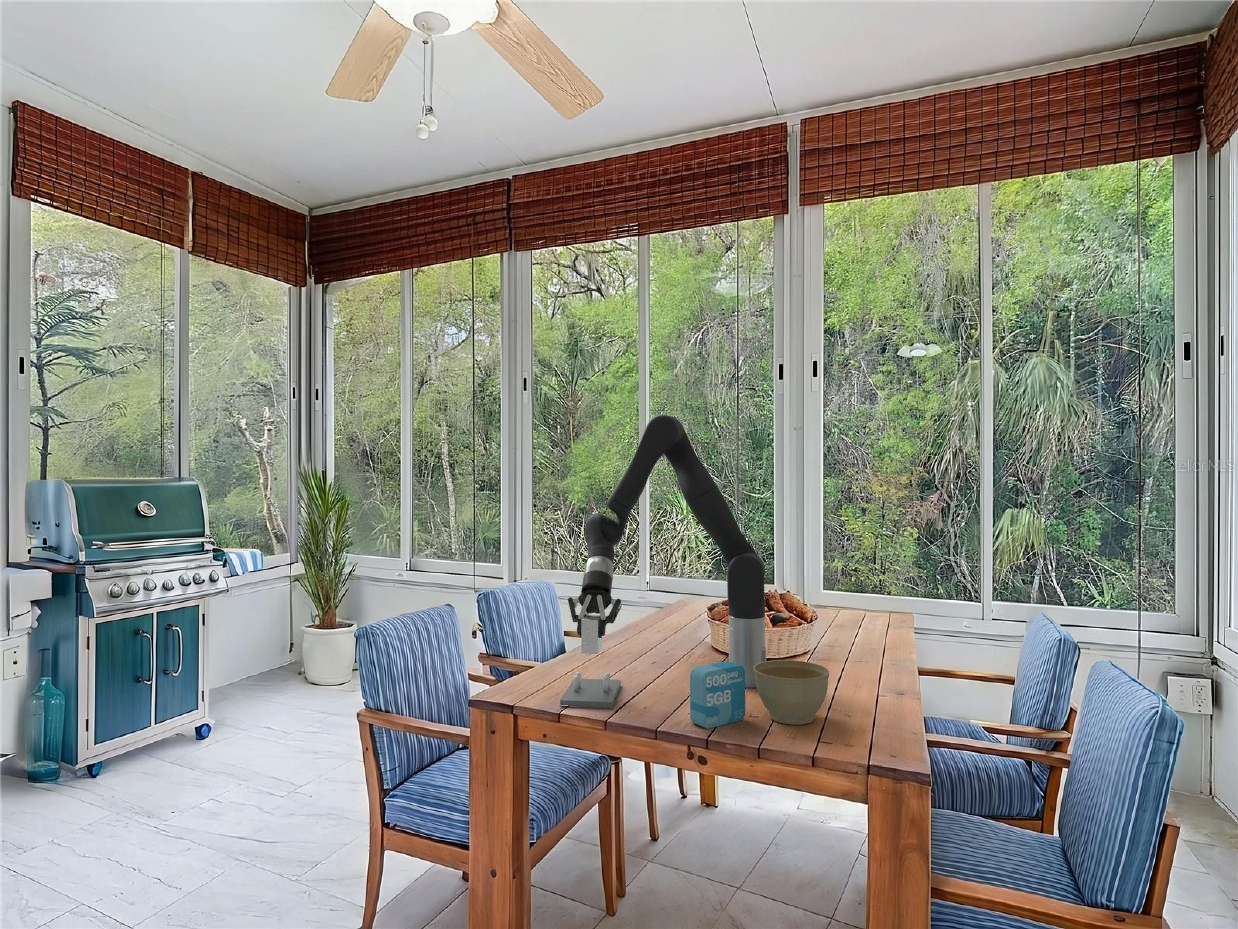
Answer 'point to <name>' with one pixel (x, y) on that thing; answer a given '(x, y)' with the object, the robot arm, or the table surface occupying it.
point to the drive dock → (591, 692)
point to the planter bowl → (791, 689)
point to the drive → (590, 635)
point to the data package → (717, 694)
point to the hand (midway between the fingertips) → (590, 635)
